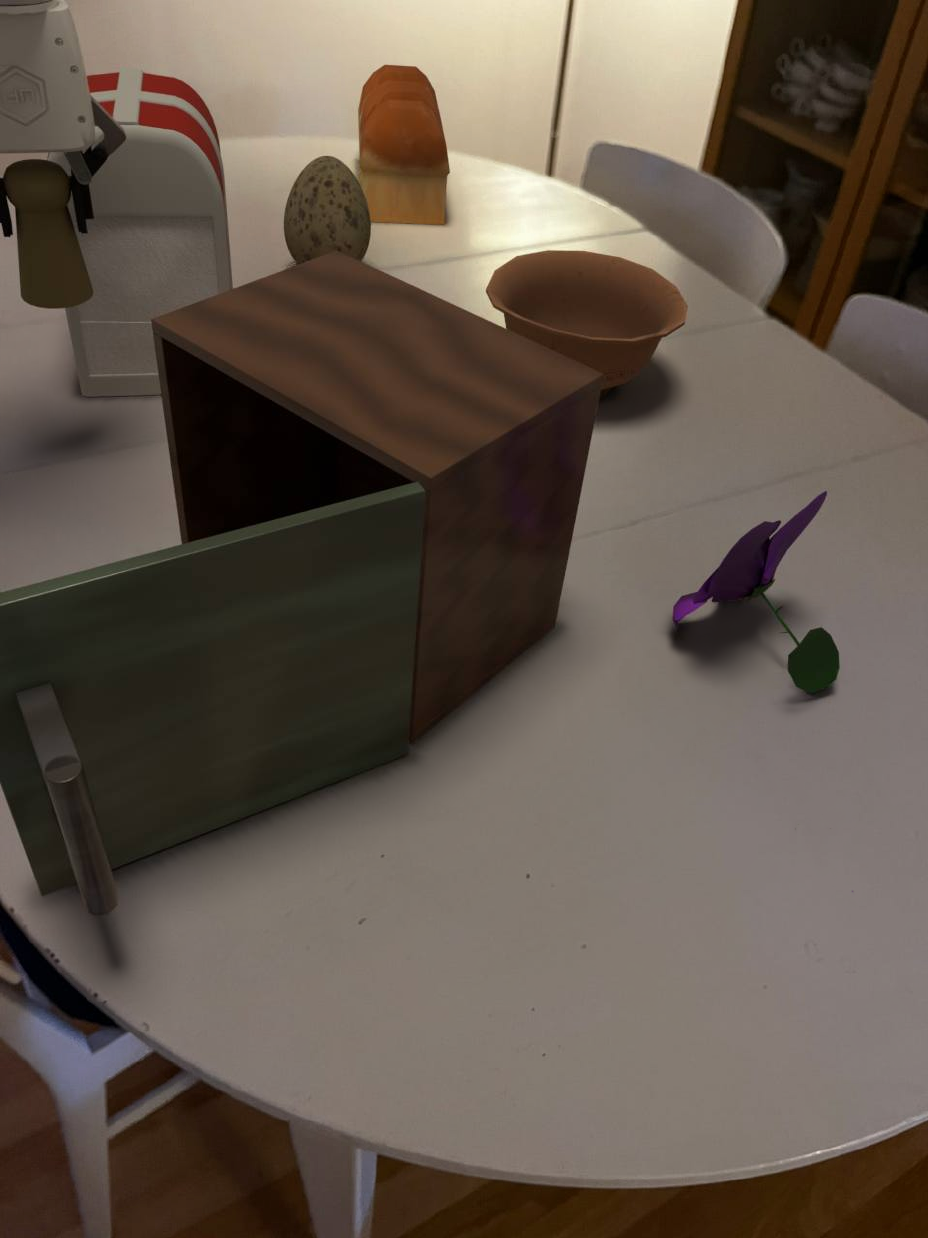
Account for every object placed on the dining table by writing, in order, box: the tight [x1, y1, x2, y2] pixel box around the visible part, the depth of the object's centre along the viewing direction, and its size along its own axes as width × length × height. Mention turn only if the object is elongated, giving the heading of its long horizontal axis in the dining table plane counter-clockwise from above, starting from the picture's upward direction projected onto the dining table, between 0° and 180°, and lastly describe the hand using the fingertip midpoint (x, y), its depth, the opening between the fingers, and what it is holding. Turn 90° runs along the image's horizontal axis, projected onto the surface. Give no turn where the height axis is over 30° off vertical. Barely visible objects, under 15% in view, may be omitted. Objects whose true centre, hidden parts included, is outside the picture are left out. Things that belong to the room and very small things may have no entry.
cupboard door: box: [0, 482, 425, 917], centre depth 60 cm, size 8×26×24 cm, turn 120°
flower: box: [671, 490, 841, 694], centre depth 82 cm, size 15×15×14 cm
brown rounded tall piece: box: [2, 158, 93, 310], centre depth 86 cm, size 6×6×11 cm
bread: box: [357, 64, 451, 226], centre depth 150 cm, size 25×12×15 cm, turn 5°
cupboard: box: [151, 251, 604, 745], centre depth 78 cm, size 18×26×24 cm
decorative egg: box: [283, 155, 372, 265], centre depth 127 cm, size 11×11×15 cm
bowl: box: [485, 249, 689, 398], centre depth 114 cm, size 22×22×11 cm
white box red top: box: [46, 68, 234, 398], centre depth 105 cm, size 16×18×27 cm
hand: (45, 226), depth 86 cm, fingers closed on brown rounded tall piece, 5 cm apart
